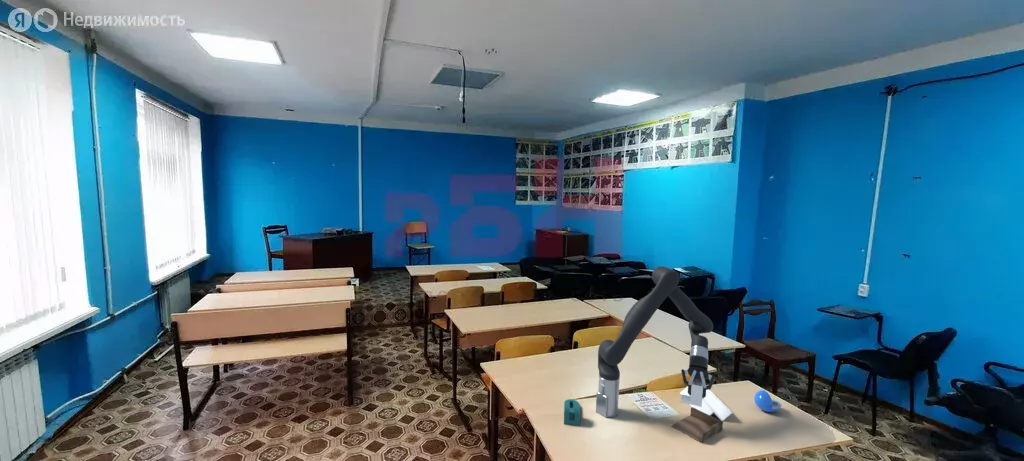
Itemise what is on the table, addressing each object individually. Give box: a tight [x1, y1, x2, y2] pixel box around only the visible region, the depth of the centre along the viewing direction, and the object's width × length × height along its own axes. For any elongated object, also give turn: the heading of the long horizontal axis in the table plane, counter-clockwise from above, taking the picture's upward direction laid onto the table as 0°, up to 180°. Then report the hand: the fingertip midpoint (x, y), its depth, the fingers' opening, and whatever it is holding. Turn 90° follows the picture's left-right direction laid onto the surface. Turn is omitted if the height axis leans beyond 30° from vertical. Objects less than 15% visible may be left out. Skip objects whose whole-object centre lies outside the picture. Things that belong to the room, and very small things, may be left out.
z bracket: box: [679, 385, 733, 423], centre depth 192 cm, size 12×25×6 cm
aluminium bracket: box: [680, 380, 703, 407], centre depth 173 cm, size 8×4×9 cm, turn 65°
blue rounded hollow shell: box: [753, 389, 783, 413], centre depth 190 cm, size 10×12×10 cm
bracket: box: [563, 398, 581, 427], centre depth 183 cm, size 18×7×8 cm, turn 172°
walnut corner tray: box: [670, 407, 724, 444], centre depth 174 cm, size 16×14×4 cm
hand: (696, 396), depth 170 cm, fingers closed on aluminium bracket, 4 cm apart
